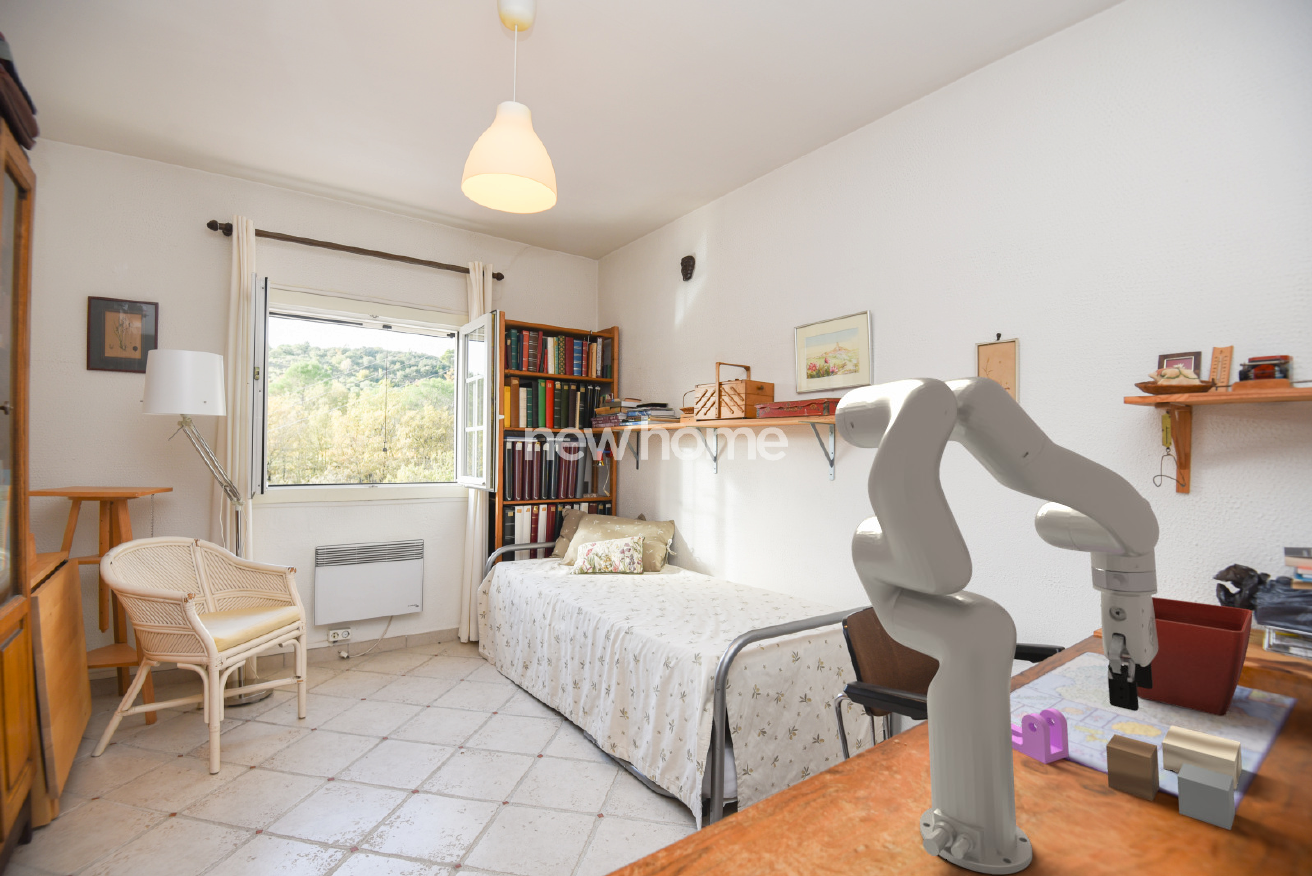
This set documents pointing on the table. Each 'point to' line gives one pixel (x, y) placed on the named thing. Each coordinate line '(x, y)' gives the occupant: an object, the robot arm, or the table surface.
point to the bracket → (1042, 736)
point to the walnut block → (1133, 766)
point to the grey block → (1206, 795)
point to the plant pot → (1198, 654)
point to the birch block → (1201, 752)
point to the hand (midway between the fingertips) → (1132, 696)
